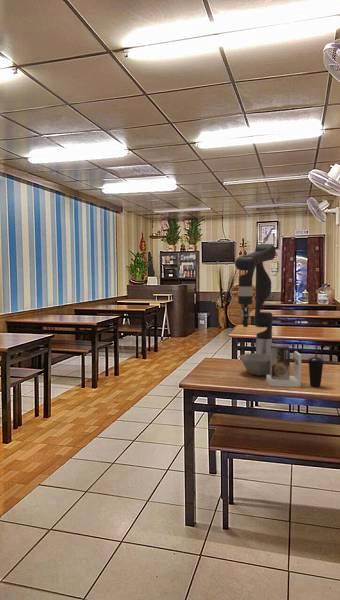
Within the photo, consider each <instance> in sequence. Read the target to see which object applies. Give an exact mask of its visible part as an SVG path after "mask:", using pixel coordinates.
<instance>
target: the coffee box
mask: <svg viewBox="0 0 340 600" xmlns="http://www.w3.org/2000/svg"><path fill="white" fill-rule="evenodd" d="M290 358H291V348H290V347H289V346H288V345H272V346H271V350H270V374H269V375H270V377H271V379H290V376H291V373H290V372H291V371H290V369H291V367H290V366H291V365H290V364H291V361H290V360H291V359H290Z"/></svg>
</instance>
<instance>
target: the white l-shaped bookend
mask: <svg viewBox="0 0 340 600" xmlns="http://www.w3.org/2000/svg"><path fill="white" fill-rule="evenodd" d="M265 376H266V382H267V384H268V386H269V387H283V388H284V387H286V388H287V387H288V388H289V387H291V388H301V387H302V386H301V385H302V384H301V382H302V380H301V379H302V354H301V353H299V352H298V351H297V350H295V351H293V375H290V379H271V377H270V374H268V375H265Z"/></svg>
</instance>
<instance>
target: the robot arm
mask: <svg viewBox="0 0 340 600" xmlns="http://www.w3.org/2000/svg"><path fill="white" fill-rule="evenodd" d="M254 250H255V251H253V252H251V253H249V254H246V255H241V256H239V257H237V259H235V262H234V264H235V267H236V269H237V270H238V271H246V273H245V274H240V275H239V276H238V289H237V304H239V305H242V307H241V309H240V311H241V315H242V316H241V317H242V325H243V328H248V326H249V323H248V322H249V316H250V307H249V305H252V304H253V298H254V297H253V295H255V306H254V326H255V327H257V328H266V329H265V330H263V331H260V332H258V333H256V340H255V341H256V342H255V343H256V346H255V347H256V348H255V350H256V351H255V354H268V355H270V350H271V346H273V345H272V344H273V343H272V342H273V320H274V317H273V313H272V312H267V311H264V312H261V310H262V308H263V305H264V304H265V302H266V301H267V300H268V298H269V297H270V296H271V292H272V279H271V278H270V276H269V274H268V272H267V271H266V269H265V267H264V262H267V261H272V260H274V258H275V257H276V253H277V251H276V247H275V245H274V244H270V243H269V244H266V243H258V244H256V246H255V249H254ZM254 273H255V284H254V285H255V289H254V290H255V293H254V291H253V277H254Z"/></svg>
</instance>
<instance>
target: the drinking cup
mask: <svg viewBox="0 0 340 600" xmlns="http://www.w3.org/2000/svg"><path fill="white" fill-rule="evenodd" d="M314 355H315V356H311V357H309V358H307V360H308V371H309V386H310V387H311V386H312V387H311V388H321V385H322V384H321V383H322V376H323V367H324V362H325V359H324V358H322V357H319V356H318V346H315V354H314Z"/></svg>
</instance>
